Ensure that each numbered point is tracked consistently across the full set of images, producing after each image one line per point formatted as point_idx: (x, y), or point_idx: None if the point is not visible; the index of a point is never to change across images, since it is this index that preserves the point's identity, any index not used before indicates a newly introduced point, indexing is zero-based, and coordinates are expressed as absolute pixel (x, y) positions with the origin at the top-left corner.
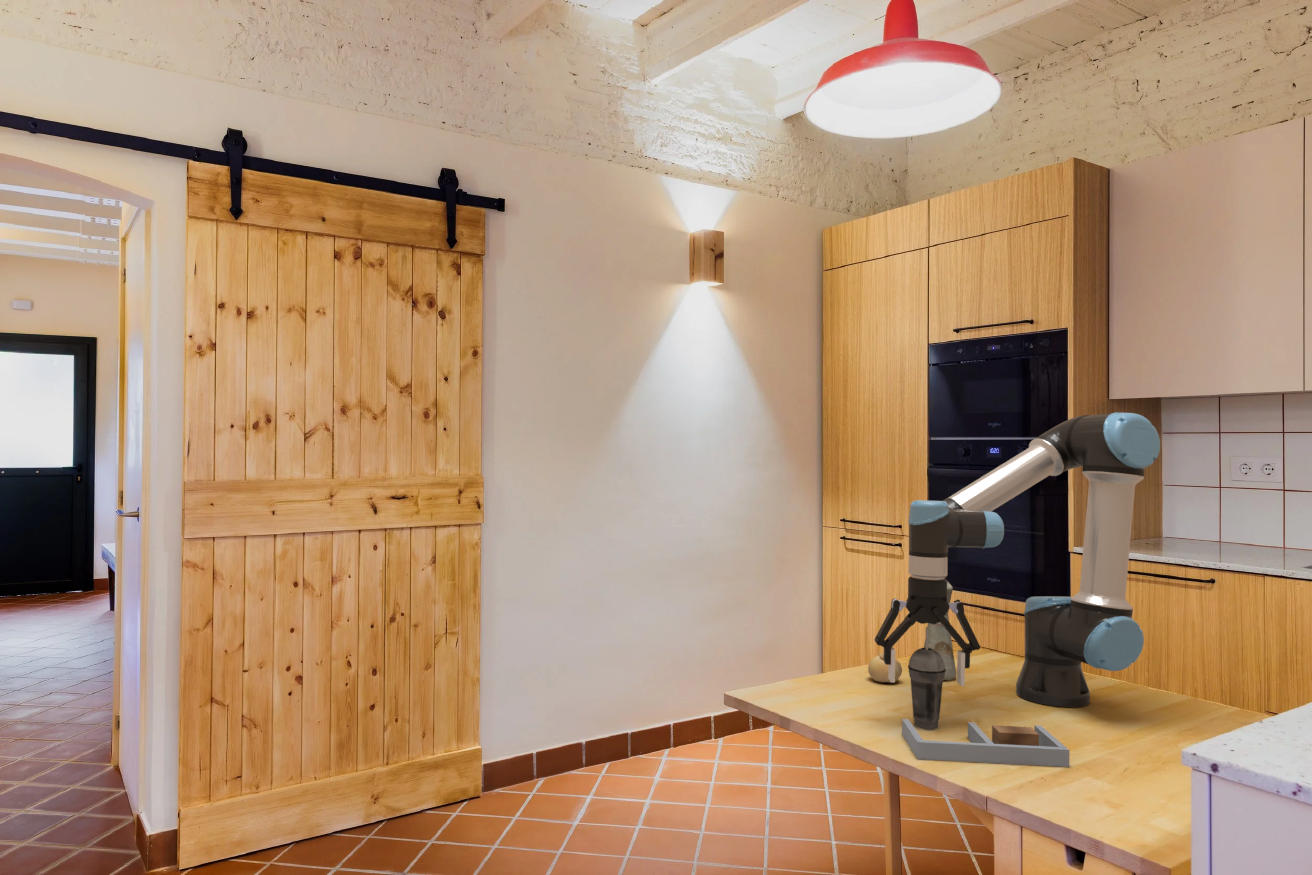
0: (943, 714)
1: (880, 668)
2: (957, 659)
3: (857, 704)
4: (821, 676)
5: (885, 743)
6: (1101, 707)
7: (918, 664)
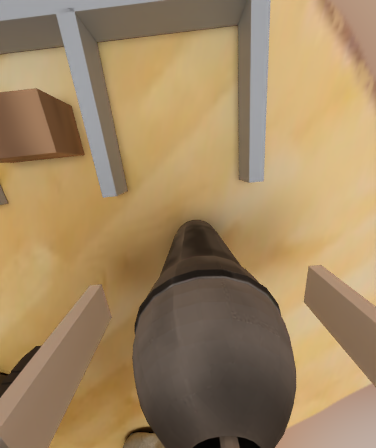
0: None
1: None
2: (68, 402)
3: (291, 317)
4: (311, 414)
5: (299, 108)
6: None
7: (265, 310)
